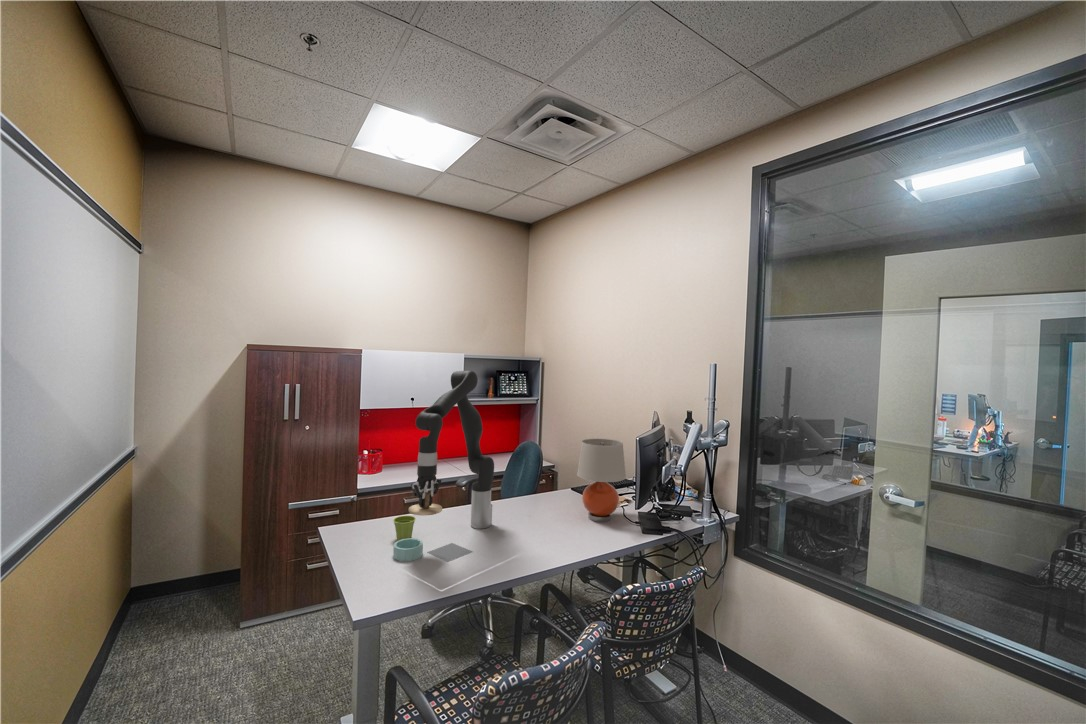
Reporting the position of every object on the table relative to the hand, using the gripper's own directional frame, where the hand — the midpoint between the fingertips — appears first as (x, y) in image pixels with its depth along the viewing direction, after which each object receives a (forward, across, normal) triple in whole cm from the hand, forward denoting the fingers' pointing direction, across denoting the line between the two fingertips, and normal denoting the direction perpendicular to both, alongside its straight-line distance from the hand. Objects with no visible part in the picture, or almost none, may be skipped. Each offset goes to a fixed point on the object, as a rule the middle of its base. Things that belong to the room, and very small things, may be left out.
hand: (425, 506), depth 183 cm
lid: (+2, 0, 0) cm, 2 cm away
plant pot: (+20, -5, -20) cm, 29 cm away
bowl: (+20, +4, -4) cm, 21 cm away
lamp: (+18, -87, +29) cm, 94 cm away
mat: (+20, -9, +6) cm, 22 cm away
